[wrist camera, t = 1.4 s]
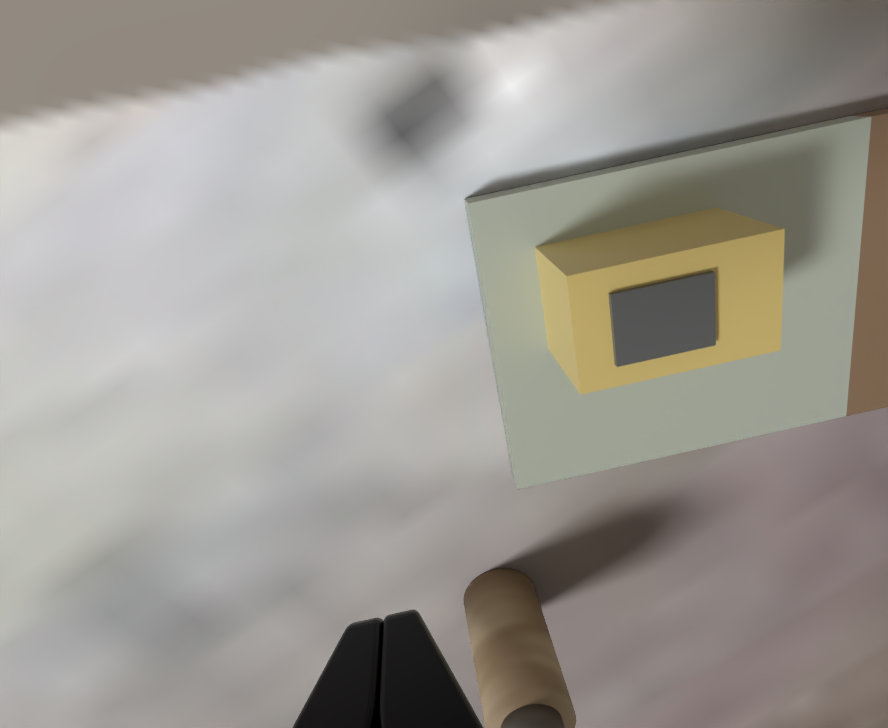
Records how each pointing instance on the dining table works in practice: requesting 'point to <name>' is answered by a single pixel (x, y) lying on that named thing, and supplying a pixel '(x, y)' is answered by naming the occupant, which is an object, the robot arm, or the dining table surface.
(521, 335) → the board
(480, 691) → the awl
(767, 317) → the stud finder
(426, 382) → the dining table surface
